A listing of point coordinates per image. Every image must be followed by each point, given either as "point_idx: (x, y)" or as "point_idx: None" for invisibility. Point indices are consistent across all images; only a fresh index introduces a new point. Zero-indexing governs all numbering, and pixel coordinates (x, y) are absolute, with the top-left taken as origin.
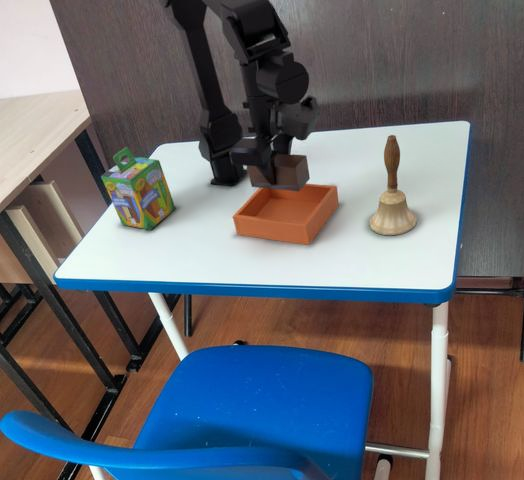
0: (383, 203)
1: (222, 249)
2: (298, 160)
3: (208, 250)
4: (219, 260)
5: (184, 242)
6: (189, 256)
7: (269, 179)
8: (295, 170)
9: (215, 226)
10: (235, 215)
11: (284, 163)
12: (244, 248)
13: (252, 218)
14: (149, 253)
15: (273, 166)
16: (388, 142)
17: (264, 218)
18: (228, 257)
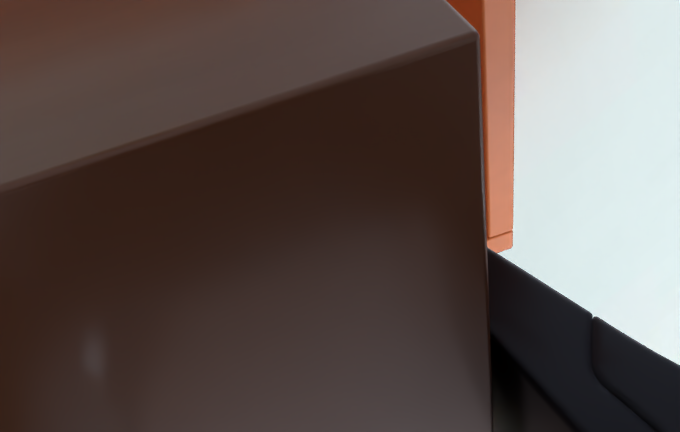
0: None
1: (586, 132)
2: (114, 242)
3: (602, 178)
4: (673, 72)
5: (563, 293)
6: (651, 206)
7: None
8: (448, 4)
9: None
10: (500, 242)
11: (362, 355)
12: (560, 37)
13: (508, 134)
14: (643, 322)
15: (608, 375)
16: None
17: (491, 57)
18: (647, 51)
